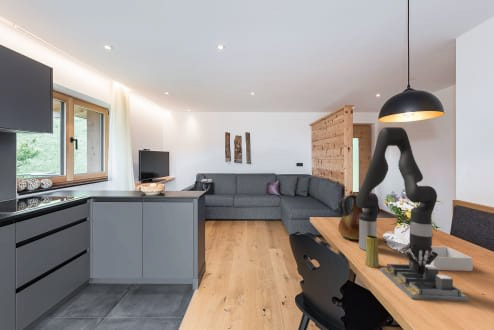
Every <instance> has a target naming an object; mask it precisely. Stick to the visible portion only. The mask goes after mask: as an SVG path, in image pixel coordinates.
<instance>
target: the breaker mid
mask: <svg viewBox="0 0 494 330" xmlns="http://www.w3.org/2000/svg"><path fill="white" fill-rule="evenodd" d="M436 275H439V270H438V269H437V268H436V267H434V266H433V265H426V266H425V273H424V274H423V278H433V279H436Z"/></svg>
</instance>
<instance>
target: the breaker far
mask: <svg viewBox="0 0 494 330" xmlns="http://www.w3.org/2000/svg"><path fill="white" fill-rule="evenodd" d="M413 258H414V257H413ZM414 259H415V258H414ZM408 264H409V269H416V264H414V263H413V262H411V261H410V260H409V259H408Z"/></svg>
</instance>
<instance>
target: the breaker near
mask: <svg viewBox="0 0 494 330" xmlns="http://www.w3.org/2000/svg"><path fill="white" fill-rule="evenodd" d="M453 283H454V280H453V278H452V277H451V276H450V275H447V274H438V275H436V289H451V290H453V286H454V284H453Z"/></svg>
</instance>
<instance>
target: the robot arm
mask: <svg viewBox="0 0 494 330" xmlns="http://www.w3.org/2000/svg"><path fill="white" fill-rule="evenodd" d="M394 146H395V147H397V148H398V149H399V152H400V153H399V154H400V155H399V160H398V165H397V166H398V170H399V172H400V175H401V177H402V179H403V183H404V184H403V185H404V192H405V193H404V194H405V196H406V198H407V200H408V201H410V202H412V203H414V204H415V203H416V204H419V205H418V206H416V207H415V206H414V207H413V208H412V209H410V221H409V222H410V223H409V245H408V249H407V250H406V249H404V250H403V253H404V255H405V256H406V258H408V261H409V260H410V261H411V262H413V263H414V264H416V272H417V273H418V274H424V273H425V266H426V265H427V264H428V265H430V264H431V262H432V261H433V260H434V259H435V258H436V257H437V255H438V254H437V253H436V252H434V251H432V248H431V246H433V226H432V219H433V218H432V217H433V216H432V215H433V211H434V209H435V205H436V203H437V199H438V194H437V191H436V189H435V188H434V187H432V186H429V185H418V183H420V182H422V181H423V178H424V176H423V174H422V171H421V170H420V168H419V165H418V164H417V162H416V160H415V157H414V153H413V150H412V145H411V144H410V140H409V137H408V133H407V131H406V129H404V128H403V127H402V126H401V127H400V126H391V127H389V126H386V127H383V128H381V129H380V131H379V132H378V135H377V138H376V142H375V147H374V151H373V153H372V158H371V161H370V163H369V165H368V167H367V171H366V174H365V177H364V180H363V182H362V185H361V186H360V189H359V190H358V192H357V194H356V195H357V197H356V205H357V206H358V207H359V208H363V210H364V209H366V210H365V211H363V213H361V214H360V215H359V240H358V249H359V248H360V249H361V250H364V251H366V236H367V235H373V236H377V231H378V230H377V227H378V226H377V222H378V221H377V219H378V215H379V198H378V195H377V194H376V193H375V192H372V191H373V190H374V189H375V188H376V187H378V186H379V185H380V184H382V183H383V182H384V180H385V178H386V177H387V175H388V174H387V173H388V172H389V164H388V161H387V159H386V151H387V149H388V147H394ZM413 255H414V258H415V259H414V258H413Z"/></svg>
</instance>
